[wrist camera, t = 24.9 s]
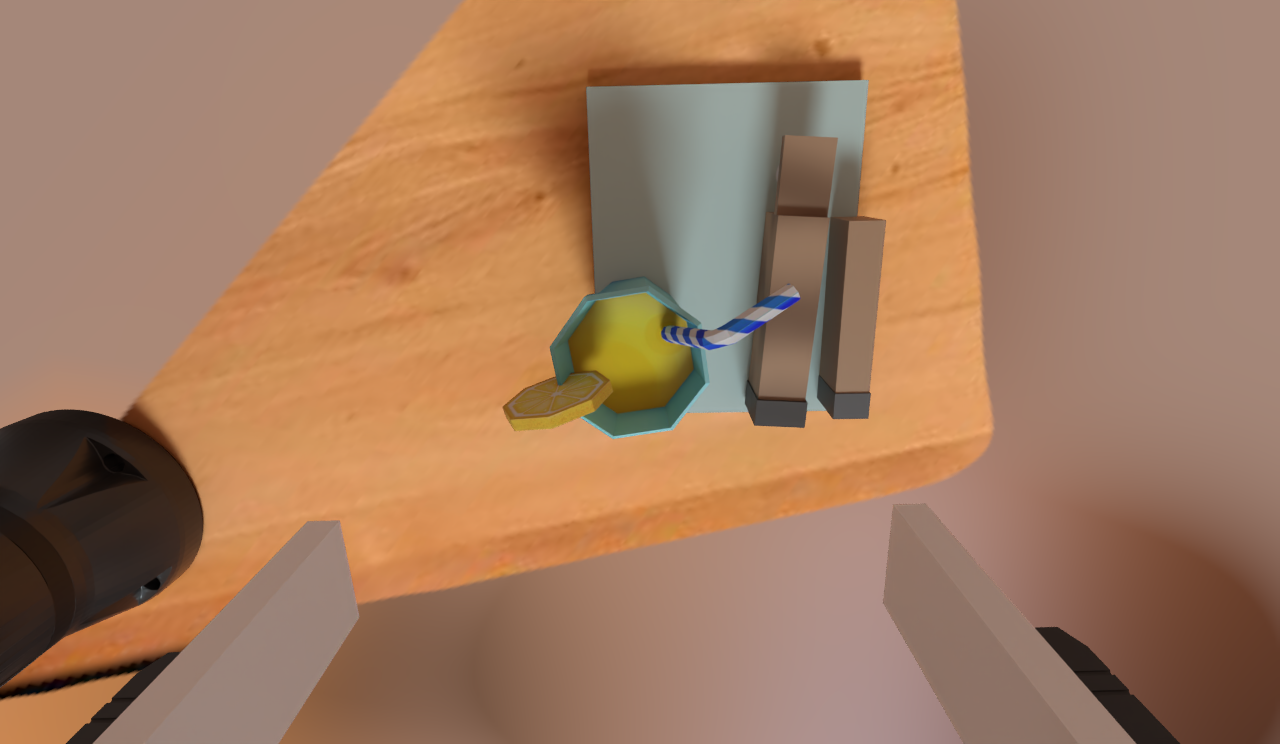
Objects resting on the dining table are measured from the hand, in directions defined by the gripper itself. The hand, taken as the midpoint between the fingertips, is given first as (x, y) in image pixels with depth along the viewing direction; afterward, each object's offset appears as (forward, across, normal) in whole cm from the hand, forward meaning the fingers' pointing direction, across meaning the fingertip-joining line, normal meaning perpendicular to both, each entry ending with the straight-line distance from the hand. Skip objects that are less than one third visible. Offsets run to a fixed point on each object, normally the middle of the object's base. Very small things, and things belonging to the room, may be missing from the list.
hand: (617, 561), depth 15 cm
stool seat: (+27, +6, +4) cm, 28 cm away
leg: (+25, +9, +2) cm, 27 cm away
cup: (+26, +1, +1) cm, 26 cm away
